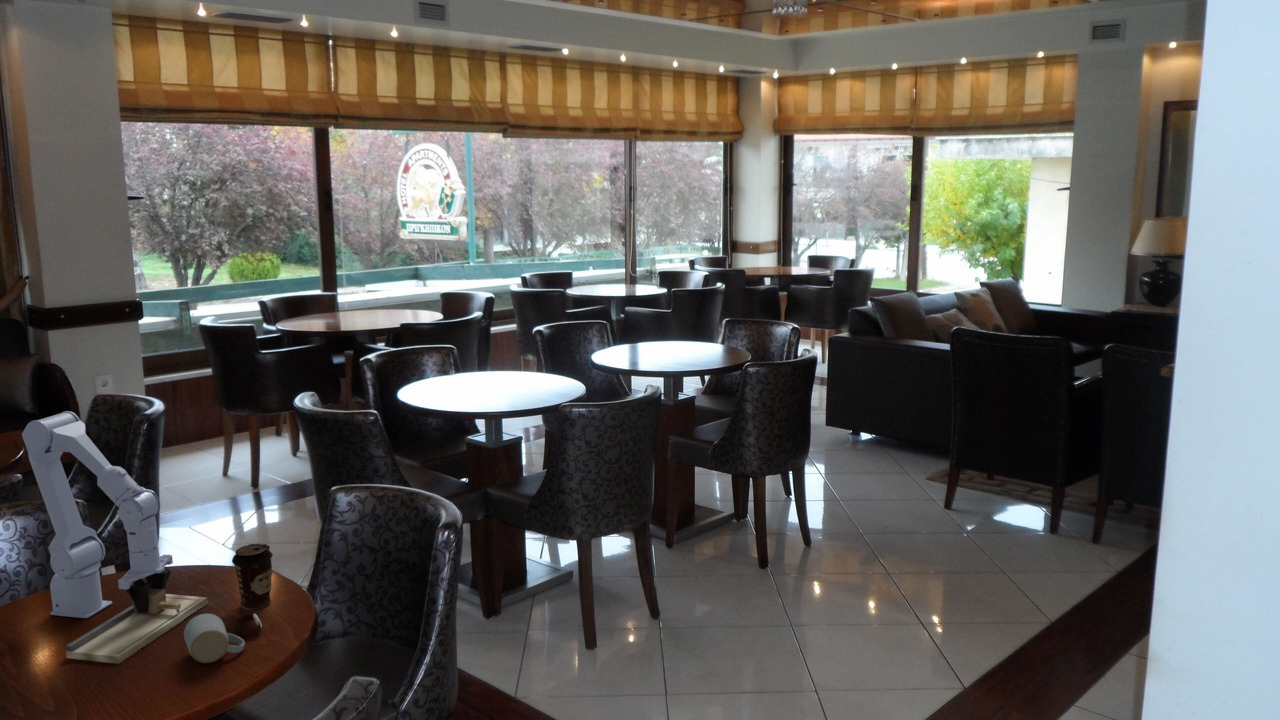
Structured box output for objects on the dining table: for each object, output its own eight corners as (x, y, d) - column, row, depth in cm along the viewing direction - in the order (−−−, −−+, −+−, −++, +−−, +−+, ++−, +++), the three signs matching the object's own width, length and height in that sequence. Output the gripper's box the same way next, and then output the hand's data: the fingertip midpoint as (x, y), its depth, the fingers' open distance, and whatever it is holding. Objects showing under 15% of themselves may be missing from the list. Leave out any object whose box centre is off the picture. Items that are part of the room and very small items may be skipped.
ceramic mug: (191, 670, 195) (188, 633, 194) (185, 653, 202) (182, 617, 201) (249, 656, 201) (246, 620, 199) (240, 640, 208) (238, 605, 206)
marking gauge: (134, 612, 216) (132, 595, 216) (146, 604, 220) (144, 587, 219) (173, 616, 214) (171, 598, 213) (185, 608, 218) (184, 591, 217)
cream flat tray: (66, 658, 200) (65, 645, 200) (160, 599, 227) (159, 588, 227) (118, 663, 198) (117, 651, 197) (207, 603, 225) (206, 592, 224)
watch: (267, 634, 210) (265, 618, 209) (244, 641, 207) (242, 624, 207) (255, 621, 216) (254, 606, 215) (233, 628, 213) (231, 612, 213)
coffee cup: (284, 596, 228) (279, 542, 225) (267, 612, 220) (262, 556, 217) (247, 595, 229) (242, 541, 226) (229, 611, 221) (223, 555, 218)
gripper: (136, 562, 207) (143, 623, 210) (182, 537, 221) (188, 595, 224) (106, 559, 209) (113, 620, 211) (154, 534, 223) (160, 592, 225)
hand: (150, 607), depth 218 cm, fingers closed on marking gauge, 4 cm apart
